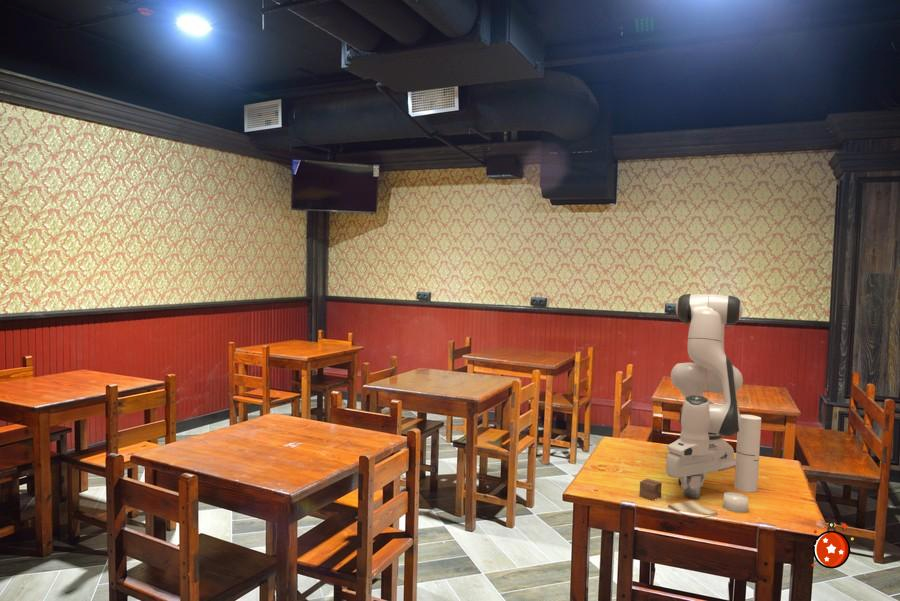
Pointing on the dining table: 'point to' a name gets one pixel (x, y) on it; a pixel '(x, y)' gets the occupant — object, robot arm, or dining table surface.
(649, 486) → the walnut block
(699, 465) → the robot arm
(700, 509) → the wavy beige sheet
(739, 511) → the white rounded block
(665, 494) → the dining table surface
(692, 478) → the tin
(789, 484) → the dining table surface
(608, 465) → the dining table surface
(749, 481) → the cylindrical container
